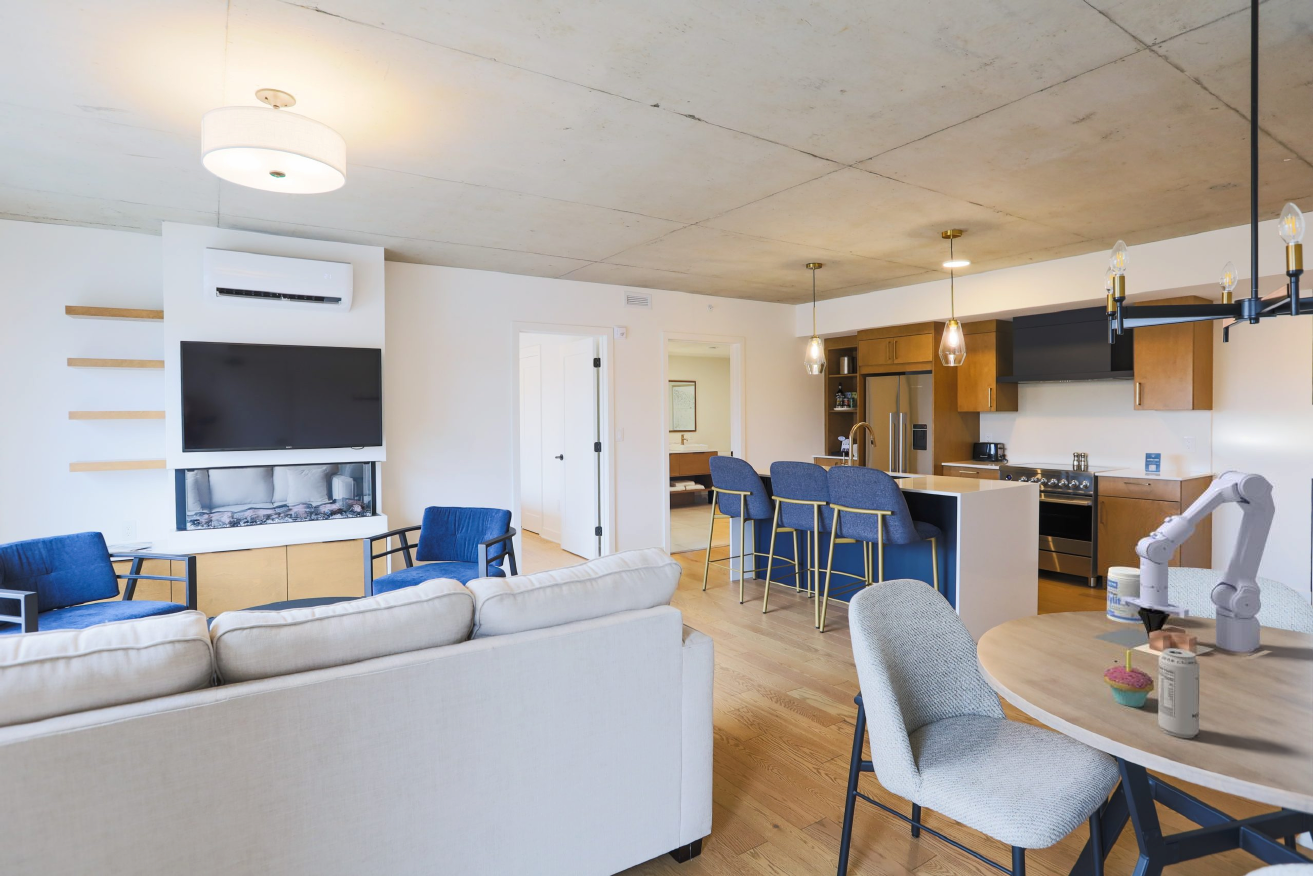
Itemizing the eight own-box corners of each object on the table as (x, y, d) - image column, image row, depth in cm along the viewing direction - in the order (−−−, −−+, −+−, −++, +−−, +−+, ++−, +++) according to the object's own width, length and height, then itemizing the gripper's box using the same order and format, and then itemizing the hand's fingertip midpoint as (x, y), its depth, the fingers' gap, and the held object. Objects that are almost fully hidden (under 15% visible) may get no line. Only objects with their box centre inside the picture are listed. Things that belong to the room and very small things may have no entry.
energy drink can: (1203, 742, 124) (1204, 660, 123) (1163, 736, 126) (1163, 655, 126) (1193, 728, 129) (1193, 649, 129) (1154, 722, 132) (1154, 645, 131)
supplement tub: (1101, 621, 195) (1101, 569, 194) (1114, 614, 201) (1114, 564, 200) (1141, 629, 187) (1141, 575, 187) (1153, 622, 193) (1153, 570, 192)
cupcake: (1155, 714, 135) (1156, 654, 135) (1104, 705, 140) (1104, 647, 139) (1152, 698, 142) (1152, 641, 142) (1103, 690, 147) (1103, 635, 146)
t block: (1149, 648, 169) (1149, 632, 169) (1171, 642, 174) (1171, 626, 174) (1181, 657, 163) (1181, 640, 163) (1203, 650, 168) (1204, 634, 168)
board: (1127, 630, 186) (1127, 627, 186) (1214, 652, 168) (1214, 649, 168) (1091, 639, 179) (1091, 636, 179) (1178, 664, 161) (1178, 660, 161)
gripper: (1114, 581, 177) (1114, 633, 178) (1177, 594, 164) (1177, 650, 165) (1130, 578, 181) (1129, 629, 181) (1193, 590, 168) (1193, 645, 168)
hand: (1153, 639), depth 173 cm, fingers closed
